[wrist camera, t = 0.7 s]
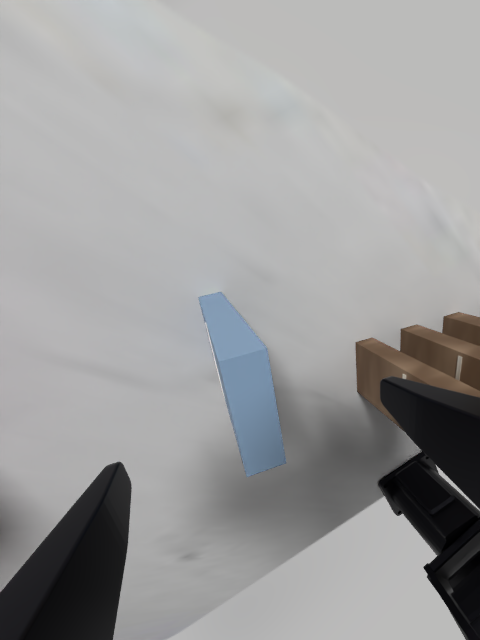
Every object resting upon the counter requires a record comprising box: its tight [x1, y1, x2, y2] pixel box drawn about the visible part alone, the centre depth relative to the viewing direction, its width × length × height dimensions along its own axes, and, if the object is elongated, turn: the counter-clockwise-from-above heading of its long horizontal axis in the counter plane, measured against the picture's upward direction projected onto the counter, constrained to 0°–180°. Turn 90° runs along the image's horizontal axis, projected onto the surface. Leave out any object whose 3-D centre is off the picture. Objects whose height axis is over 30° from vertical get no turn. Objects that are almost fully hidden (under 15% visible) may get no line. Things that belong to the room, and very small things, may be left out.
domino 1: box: [400, 325, 480, 391], centre depth 18 cm, size 2×5×10 cm, turn 11°
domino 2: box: [356, 338, 480, 431], centre depth 17 cm, size 2×5×10 cm, turn 11°
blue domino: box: [199, 292, 286, 477], centre depth 13 cm, size 2×5×10 cm, turn 11°
